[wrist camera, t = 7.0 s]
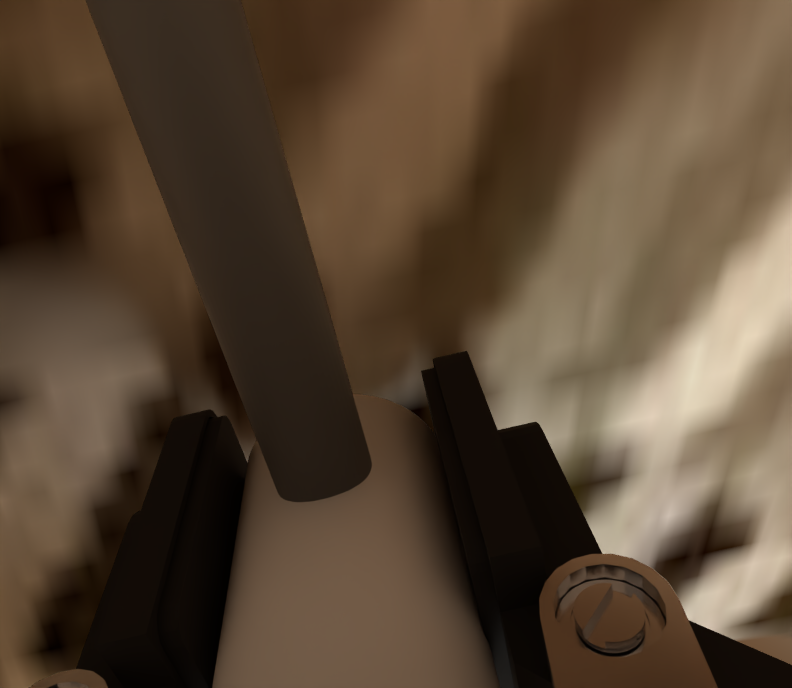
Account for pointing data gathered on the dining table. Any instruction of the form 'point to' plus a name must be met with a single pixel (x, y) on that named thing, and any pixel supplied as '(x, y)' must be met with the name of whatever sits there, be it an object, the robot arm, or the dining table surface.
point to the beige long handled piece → (293, 391)
